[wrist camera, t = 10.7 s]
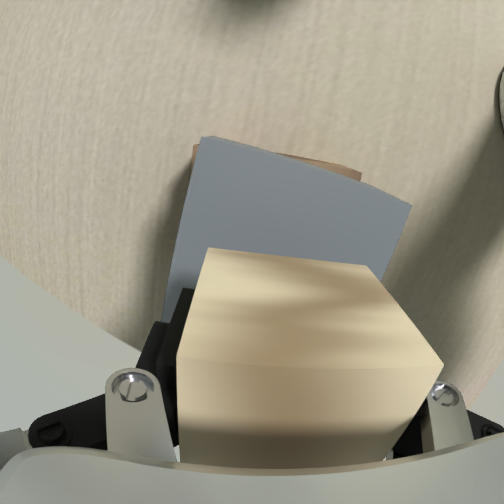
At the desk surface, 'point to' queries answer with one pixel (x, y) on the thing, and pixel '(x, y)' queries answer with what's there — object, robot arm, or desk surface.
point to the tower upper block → (278, 213)
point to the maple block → (296, 365)
